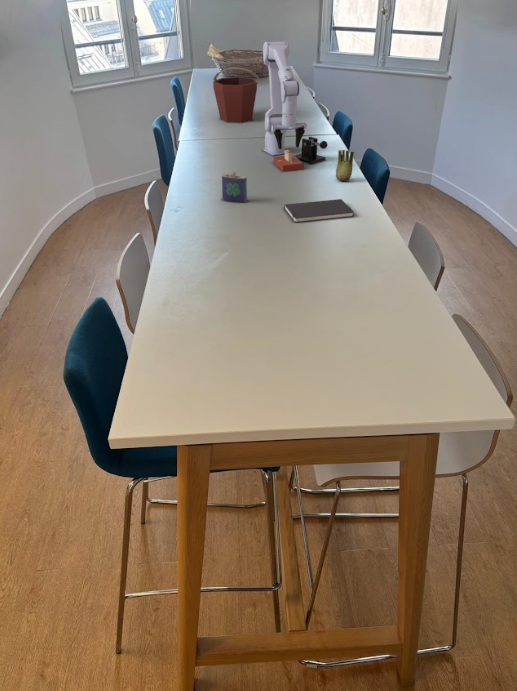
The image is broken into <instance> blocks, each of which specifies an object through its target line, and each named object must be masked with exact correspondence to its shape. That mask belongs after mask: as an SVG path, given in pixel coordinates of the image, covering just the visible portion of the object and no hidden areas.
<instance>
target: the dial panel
mask: <svg viewBox="0 0 517 691" xmlns="http://www.w3.org/2000/svg"><path fill="white" fill-rule="evenodd" d="M272 160H273V164H274V165H275V166H276V167H277V168H278V169H279V170H280V171H282V172H291V171H292V172H293V171H300V170H304V162H302V161H300V160H299V159H297V158H296V157H295V156H294V154H292V161H290V162H288V161H287V160H286V159H285V155H280V156H278V155H277V156H273V158H272Z"/></svg>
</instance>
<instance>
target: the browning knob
mask: <svg viewBox="0 0 517 691" xmlns="http://www.w3.org/2000/svg"><path fill="white" fill-rule="evenodd" d="M292 155H293V152H292V151H291V150H289V149H285V154H284V156H285V159H286V160H287V161H288V162H290V161H292Z"/></svg>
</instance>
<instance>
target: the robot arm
mask: <svg viewBox="0 0 517 691" xmlns="http://www.w3.org/2000/svg"><path fill="white" fill-rule="evenodd" d="M262 55H263V56H262V57H263V65H265V66H267V69H268V70H267V71H268V79H269V81H268V82H269V98H270V108H269V109H268V110H267V111H265V114H264V129H265V131H266V132H265V134H264V148H262V150H263V151H264V152H266V153H267V154H269V155H270V156H278V155H280V156H281V155H285V150H286V149H285V147H286V146H285V145H286V133H287V131H291V130H292V131H293V130H294V131H295V143H294V144H295V145H294V146H295V147H296V148H299V147H300V144H301V142H302V139H303V136H304V135H305V133H306V129H308V128H307V126H308V125H307V123H306V122H297V112H298V110H297V109H298V97H299V95H300V81H299V80H298V79H297V78H295V75H294V73H293V72H294V71H293V68H292V67H291V66H289V64H288V57H289V55H290V46H289V43H288V41H287V40H284V41H265V42H264V43H263V46H262Z"/></svg>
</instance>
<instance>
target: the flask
mask: <svg viewBox="0 0 517 691" xmlns="http://www.w3.org/2000/svg"><path fill="white" fill-rule="evenodd" d="M247 180H248V178H247V177H246V176H243V175H237V171H235V170H234V171H232V172H231V174H230V173H229V174H228V173H226V174H222V176H221V188H222V190H221V191H222V192H221V193H222V201H224V202H229V203H230V202H231V203H247V201H248V187H247V186H248V184H247Z"/></svg>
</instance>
